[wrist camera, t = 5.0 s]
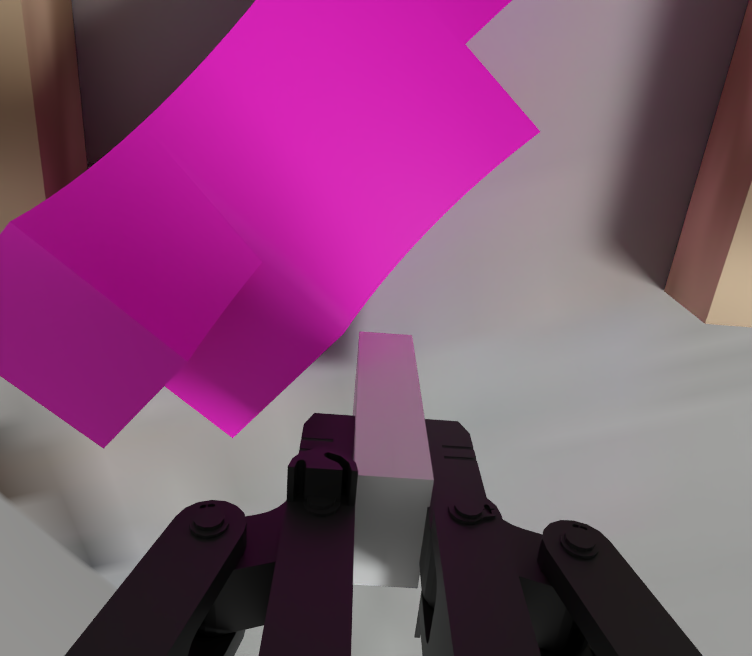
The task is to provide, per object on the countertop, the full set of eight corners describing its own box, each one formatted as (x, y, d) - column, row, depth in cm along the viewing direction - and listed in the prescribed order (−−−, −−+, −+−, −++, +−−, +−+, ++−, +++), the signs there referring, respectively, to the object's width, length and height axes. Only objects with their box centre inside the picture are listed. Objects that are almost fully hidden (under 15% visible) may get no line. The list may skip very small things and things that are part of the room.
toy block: (261, 359, 20) (203, 518, 13) (97, 224, 18) (-71, 326, 11) (648, -21, 16) (867, -82, 9) (486, -245, 14) (601, -545, 7)
